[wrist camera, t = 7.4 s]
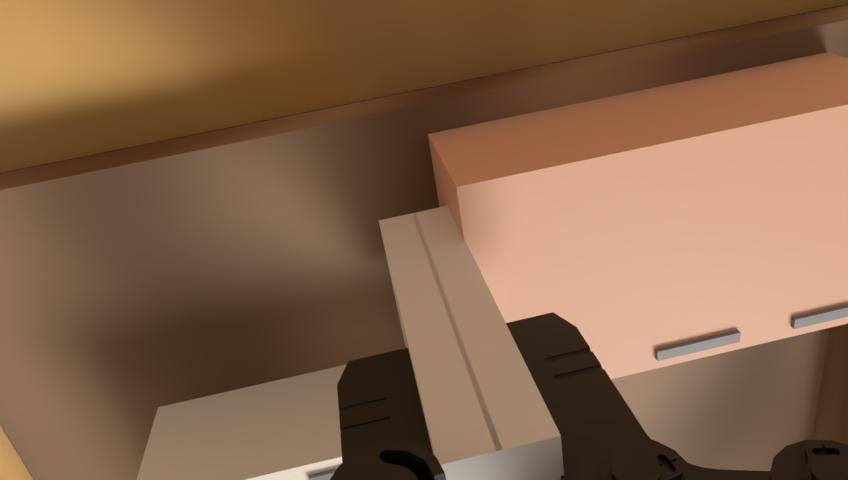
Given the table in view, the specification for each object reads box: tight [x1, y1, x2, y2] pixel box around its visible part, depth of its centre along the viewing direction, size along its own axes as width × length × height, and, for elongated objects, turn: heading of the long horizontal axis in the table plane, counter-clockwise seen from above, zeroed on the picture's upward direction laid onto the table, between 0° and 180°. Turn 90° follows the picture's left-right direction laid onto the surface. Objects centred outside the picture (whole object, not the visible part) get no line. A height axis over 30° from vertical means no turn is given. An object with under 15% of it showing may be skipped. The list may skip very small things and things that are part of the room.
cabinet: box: [428, 52, 848, 379], centre depth 14 cm, size 9×5×3 cm, turn 99°
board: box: [0, 5, 848, 480], centre depth 17 cm, size 22×17×3 cm
